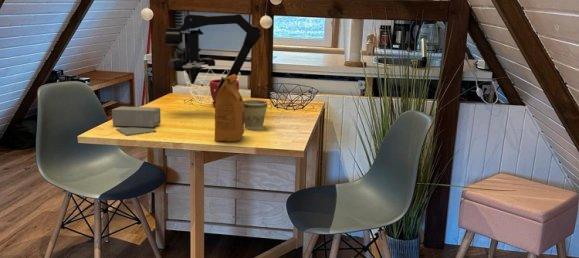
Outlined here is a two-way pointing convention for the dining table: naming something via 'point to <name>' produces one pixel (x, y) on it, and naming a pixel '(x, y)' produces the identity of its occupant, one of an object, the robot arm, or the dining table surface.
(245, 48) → the robot arm
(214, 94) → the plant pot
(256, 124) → the ceramic cup
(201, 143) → the dining table surface
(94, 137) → the dining table surface
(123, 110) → the skincare box
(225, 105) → the coffee package
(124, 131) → the mat
